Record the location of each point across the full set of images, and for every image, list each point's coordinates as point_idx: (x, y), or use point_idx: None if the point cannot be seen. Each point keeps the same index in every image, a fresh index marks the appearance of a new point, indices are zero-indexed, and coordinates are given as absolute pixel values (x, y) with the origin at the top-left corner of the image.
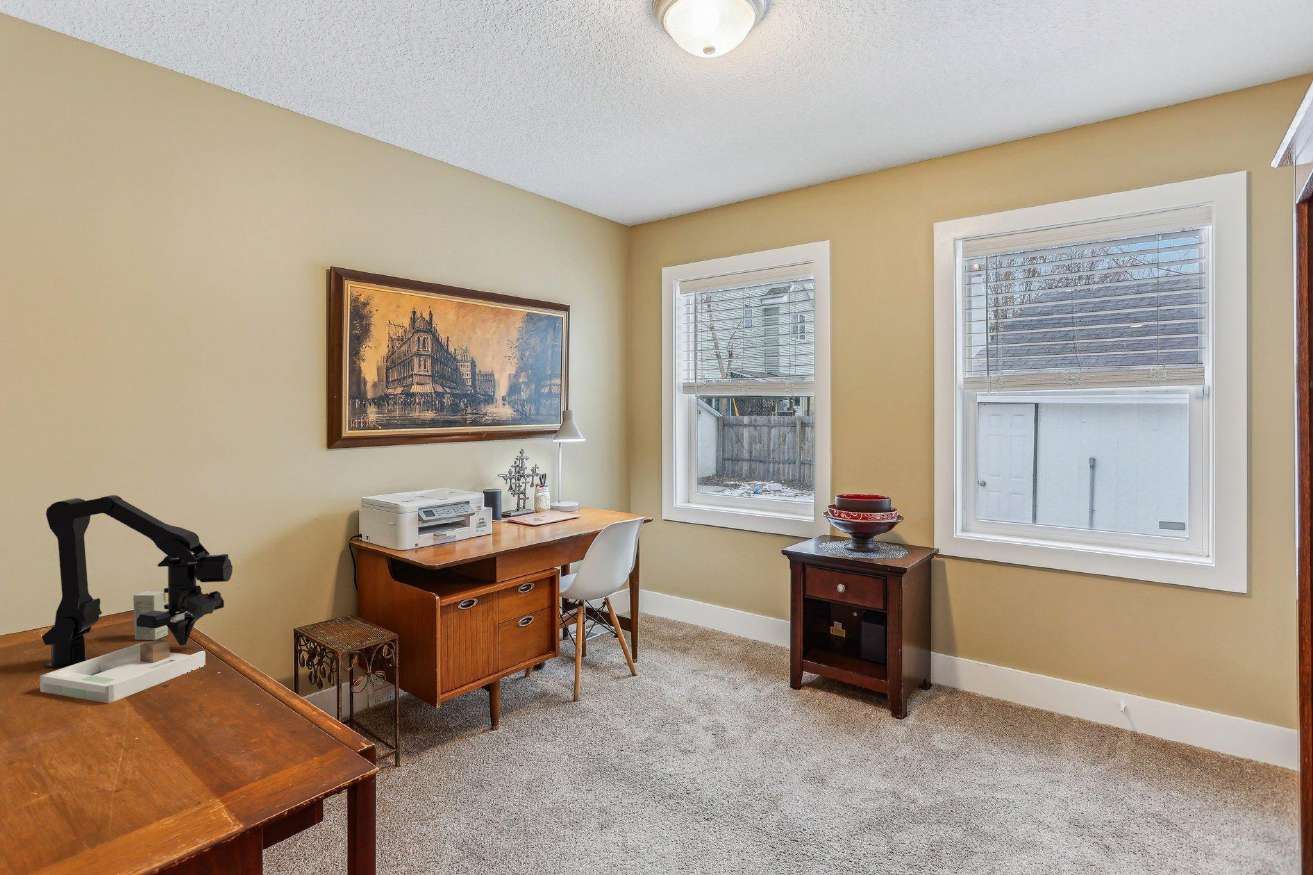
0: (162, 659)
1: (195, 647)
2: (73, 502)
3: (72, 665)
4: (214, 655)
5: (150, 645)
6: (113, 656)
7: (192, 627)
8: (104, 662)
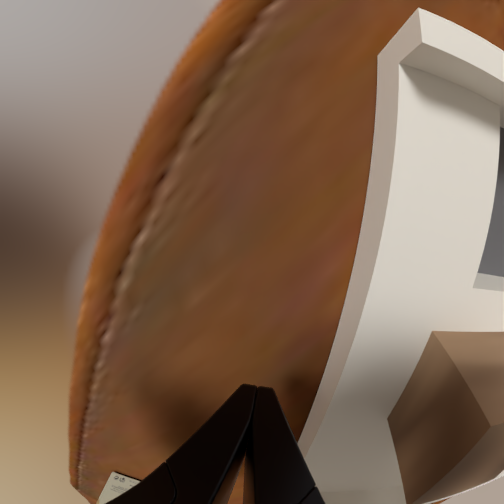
0: (472, 333)
1: (124, 367)
2: None
3: (497, 477)
4: (182, 149)
5: None
6: None
7: (135, 488)
8: None
